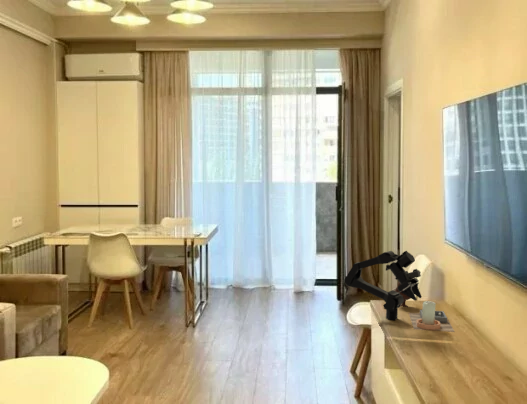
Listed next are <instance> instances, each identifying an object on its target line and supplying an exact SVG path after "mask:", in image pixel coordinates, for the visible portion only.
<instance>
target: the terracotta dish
mask: <svg viewBox="0 0 527 404" xmlns="http://www.w3.org/2000/svg"><path fill="white" fill-rule="evenodd" d="M416 325H417V327H420V328H423V329H432V330H435V329H439V328H440V327H441V324H440V322H439V321H436V320H435V324H434V325H425V324H422V319H418V320H416ZM432 330H431V331H432Z"/></svg>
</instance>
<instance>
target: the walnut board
mask: <svg viewBox="0 0 527 404" xmlns="http://www.w3.org/2000/svg"><path fill="white" fill-rule="evenodd" d="M408 315H409V319H410V322H411V325H412V327H413V330H418V331H420V330H421V331H434V332H435V331H436V332H451V333H455V332H456V331H455V329H454V328H453V326H452V324H451V322H450V321H449V319H448V318H447V323H442V322H440V324H441V327H440V328H439V329H435V330H432V329H423V328H420V327H417V325H416V320H418V319H421V317H420V312H408Z"/></svg>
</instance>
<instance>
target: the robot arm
mask: <svg viewBox="0 0 527 404" xmlns="http://www.w3.org/2000/svg"><path fill="white" fill-rule="evenodd" d="M414 262H416V258H415V257H414V255H413V254H411V253H410V252H408V250H405V251H403V252H402V253H401V254H396V253H395V252H394V251H392V250H387V251H385V252H382V253H380V254H378V255H377V256H375V257H372V258H369V259H365V260H363V261H358V262H354V263H353V264H352V267H351V269H350V270H349V272H348V273H347V275H346V276H345V277H344V283H345V286H347V287H351V288H356V289H360V290H363V291H365V292H367V293H369V294H370V295H373V296H375V297H377V298H378V299H381V300H383V301H384V302H385V303H384V304H383V309H384V310H385V319H387V320H388V321H394V322H395V321H396V320H398V310H399V309H398V308H400V307H401V306H400V305H401V304H403V302H404V299H403V296H402V295H401V294H400V293H398V292H396V291H395V290H393V289H392V290H389V291H387V290H384V289H383V288H380V287H378V286H376V285H374V284H372V283H369V282H367V281H365V280H364V279H363V277H362V276H361V275H362V270H363V269H365V268H368V267H373V266H375V265H385V271H386V272H387V271H389V270H390V271H391V273H392V274H393V276H394V277H395V278H394V279H395V280H396V281H398V282H399V283H400V285H399V286H398V285H397V287H398V288H397V289H398V291H399V292H401V291H402V290H403V291H402V292H401V293H403V294H405V295H406V296H408V297H410V300H413V301H415V302H416V301H417V299H418V298H419V299H422V294H421V291H420V288H419V284H420V282H419V281H420V280H419V279H418V278H420V277H422V274H421V271H420V270H419V269H417V268H415V269H412V272H409V271H408V270H405V269H407V268H408V267H410V265H412V264H413V263H414ZM389 263H390V264H389ZM417 297H418V298H417Z"/></svg>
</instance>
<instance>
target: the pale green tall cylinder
mask: <svg viewBox="0 0 527 404" xmlns="http://www.w3.org/2000/svg"><path fill="white" fill-rule="evenodd" d="M436 304H437V303H436V302H434V301H431V300H430V301H429V300H424V301H422V309H421V310H422V324H425V325H434V324H435V311H436Z"/></svg>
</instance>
